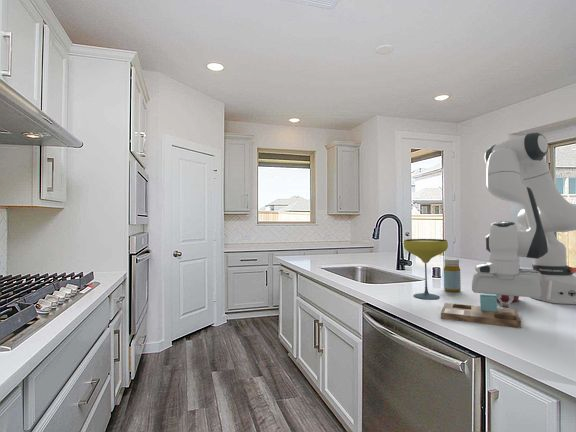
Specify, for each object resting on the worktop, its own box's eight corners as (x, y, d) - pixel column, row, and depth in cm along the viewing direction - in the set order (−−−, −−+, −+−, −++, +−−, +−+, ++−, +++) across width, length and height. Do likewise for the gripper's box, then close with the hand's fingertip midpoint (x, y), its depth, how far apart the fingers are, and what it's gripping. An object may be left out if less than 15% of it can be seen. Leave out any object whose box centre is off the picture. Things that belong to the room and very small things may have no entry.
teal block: (496, 308, 120) (496, 294, 120) (497, 311, 115) (496, 297, 115) (480, 306, 122) (480, 293, 122) (480, 310, 118) (480, 296, 118)
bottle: (463, 292, 155) (462, 259, 155) (448, 292, 155) (447, 260, 156) (456, 288, 162) (455, 258, 162) (441, 289, 162) (441, 258, 163)
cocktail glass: (401, 291, 158) (400, 239, 158) (442, 292, 155) (440, 238, 156) (409, 301, 140) (407, 241, 141) (455, 302, 138) (453, 241, 138)
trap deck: (517, 315, 117) (517, 309, 117) (521, 328, 105) (521, 321, 105) (445, 307, 129) (445, 302, 129) (440, 318, 116) (440, 312, 116)
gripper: (540, 268, 114) (541, 309, 114) (471, 265, 124) (472, 302, 124) (543, 271, 108) (544, 313, 108) (471, 267, 119) (472, 306, 118)
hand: (505, 307), depth 116 cm, fingers closed
